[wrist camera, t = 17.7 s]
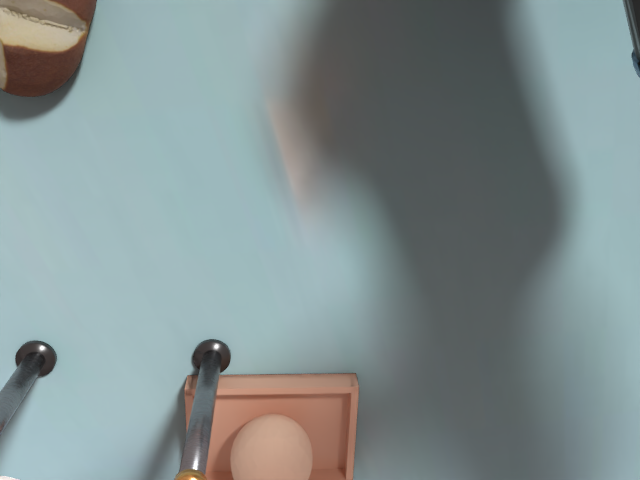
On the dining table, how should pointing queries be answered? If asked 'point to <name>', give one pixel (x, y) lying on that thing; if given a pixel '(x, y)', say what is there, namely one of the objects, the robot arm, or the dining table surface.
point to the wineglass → (7, 478)
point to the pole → (25, 376)
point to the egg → (271, 450)
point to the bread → (41, 43)
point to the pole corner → (203, 408)
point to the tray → (292, 401)
